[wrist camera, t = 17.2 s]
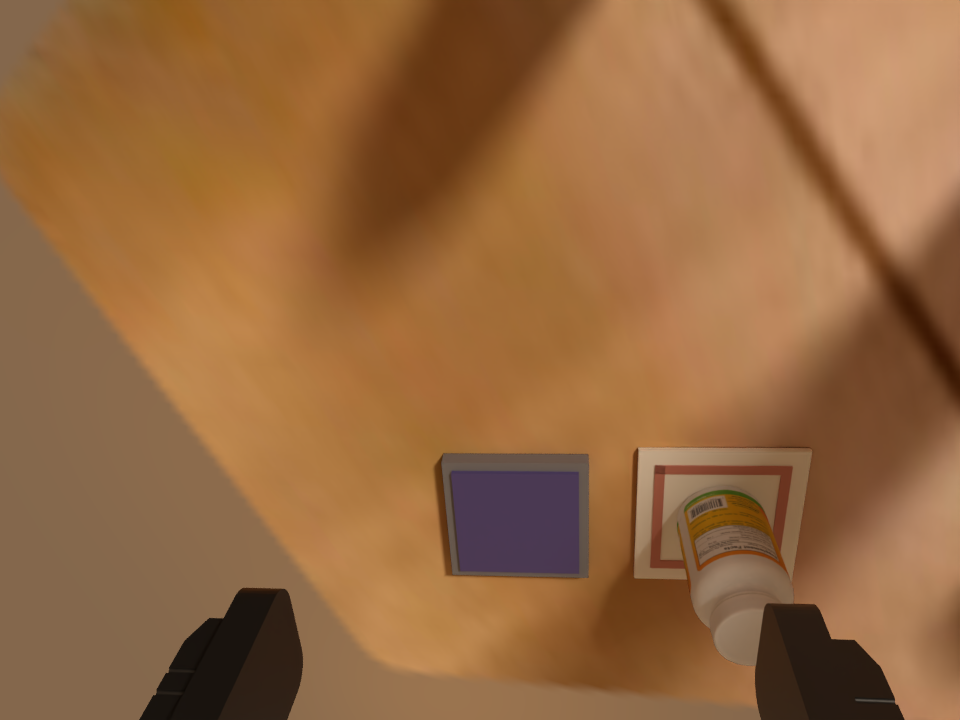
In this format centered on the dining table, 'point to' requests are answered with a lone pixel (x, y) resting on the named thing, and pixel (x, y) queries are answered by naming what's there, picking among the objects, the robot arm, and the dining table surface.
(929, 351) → the dining table surface
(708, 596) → the supplement bottle
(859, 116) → the dining table surface
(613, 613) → the dining table surface
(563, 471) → the ink pad
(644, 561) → the marked card
